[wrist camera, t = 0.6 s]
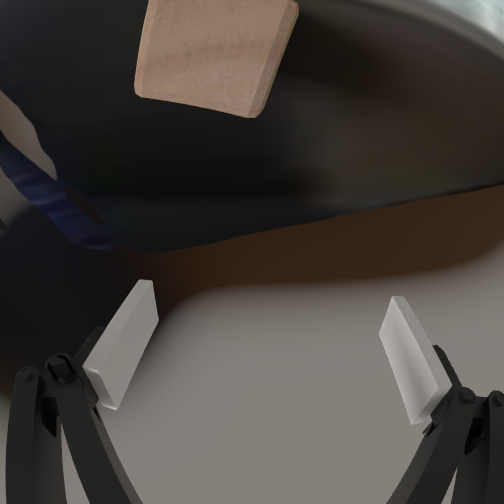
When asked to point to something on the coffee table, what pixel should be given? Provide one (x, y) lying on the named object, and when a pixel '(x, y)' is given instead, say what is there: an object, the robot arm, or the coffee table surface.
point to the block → (213, 52)
